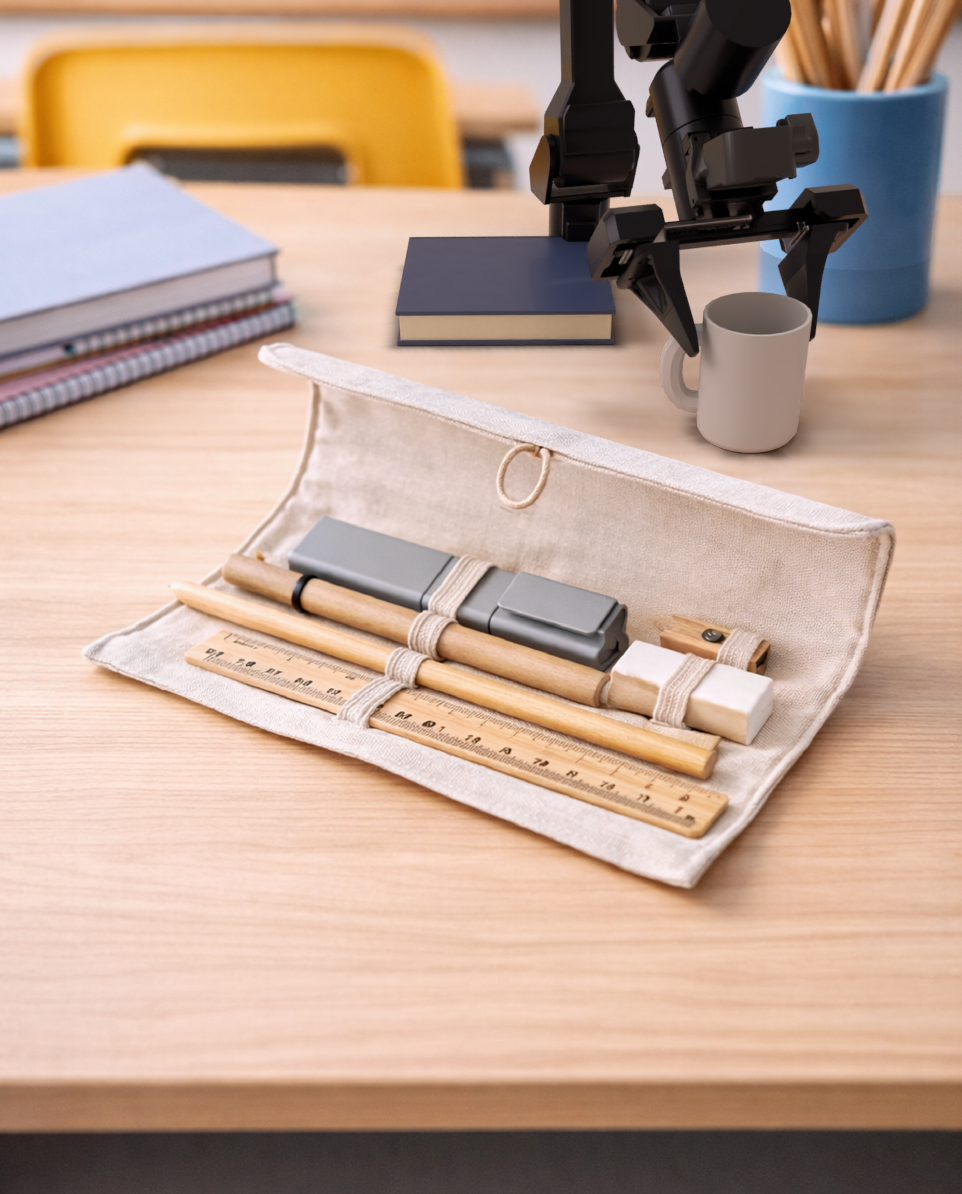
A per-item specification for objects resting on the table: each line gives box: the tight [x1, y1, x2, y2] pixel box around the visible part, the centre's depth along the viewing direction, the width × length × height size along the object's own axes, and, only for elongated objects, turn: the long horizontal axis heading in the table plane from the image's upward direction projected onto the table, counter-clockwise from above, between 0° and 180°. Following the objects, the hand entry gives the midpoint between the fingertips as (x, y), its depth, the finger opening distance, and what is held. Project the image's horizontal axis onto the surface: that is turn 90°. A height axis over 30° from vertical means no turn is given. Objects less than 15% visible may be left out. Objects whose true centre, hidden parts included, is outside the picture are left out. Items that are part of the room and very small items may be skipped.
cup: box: [659, 291, 812, 454], centre depth 84 cm, size 7×10×9 cm
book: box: [394, 235, 617, 347], centre depth 105 cm, size 18×18×3 cm
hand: (752, 347), depth 81 cm, fingers closed on cup, 8 cm apart
